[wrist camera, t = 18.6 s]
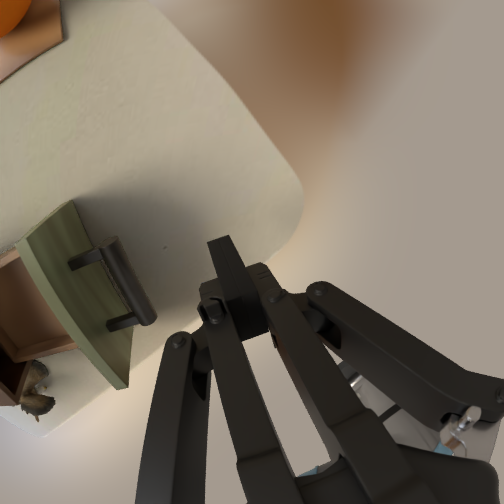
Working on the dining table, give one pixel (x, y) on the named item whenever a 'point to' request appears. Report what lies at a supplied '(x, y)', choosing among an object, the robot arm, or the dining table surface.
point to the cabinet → (12, 379)
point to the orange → (11, 14)
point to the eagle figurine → (35, 392)
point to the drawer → (70, 297)
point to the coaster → (31, 36)
